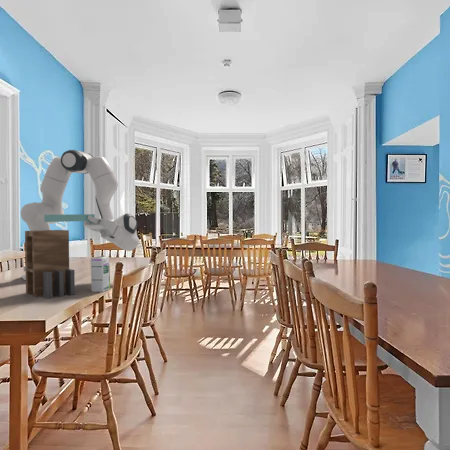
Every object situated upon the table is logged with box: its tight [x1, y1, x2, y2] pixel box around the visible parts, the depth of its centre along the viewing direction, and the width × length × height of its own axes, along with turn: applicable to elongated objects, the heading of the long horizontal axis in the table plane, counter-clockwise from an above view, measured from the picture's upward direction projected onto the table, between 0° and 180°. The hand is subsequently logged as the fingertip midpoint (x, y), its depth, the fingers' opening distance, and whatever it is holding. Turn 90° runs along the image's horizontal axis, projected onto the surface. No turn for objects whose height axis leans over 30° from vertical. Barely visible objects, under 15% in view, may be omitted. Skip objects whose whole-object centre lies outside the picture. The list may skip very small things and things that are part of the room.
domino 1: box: [42, 271, 53, 299], centre depth 150 cm, size 2×5×10 cm, turn 46°
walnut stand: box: [24, 229, 70, 297], centre depth 159 cm, size 10×14×26 cm
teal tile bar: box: [44, 213, 96, 223], centre depth 166 cm, size 3×21×3 cm, turn 136°
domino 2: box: [54, 270, 65, 297], centre depth 153 cm, size 2×5×10 cm, turn 46°
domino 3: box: [65, 268, 76, 296], centre depth 156 cm, size 2×5×10 cm, turn 47°
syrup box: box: [90, 255, 111, 293], centre depth 163 cm, size 6×6×14 cm
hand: (85, 216), depth 171 cm, fingers closed on teal tile bar, 3 cm apart
